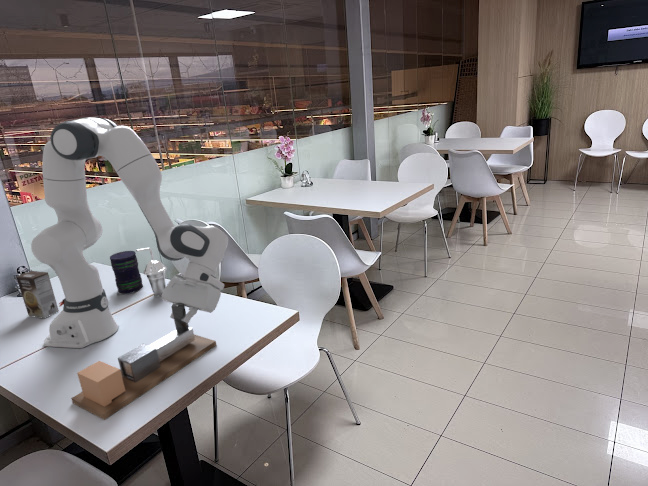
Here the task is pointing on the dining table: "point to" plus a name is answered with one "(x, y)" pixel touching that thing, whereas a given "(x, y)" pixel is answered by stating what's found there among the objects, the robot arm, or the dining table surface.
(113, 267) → the storage jar
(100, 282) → the robot arm
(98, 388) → the socket block
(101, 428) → the dining table surface
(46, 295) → the coffee box
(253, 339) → the dining table surface
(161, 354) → the grey piece
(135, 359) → the metal sleeve
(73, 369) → the dining table surface
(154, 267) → the cup with straw
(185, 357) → the walnut board
